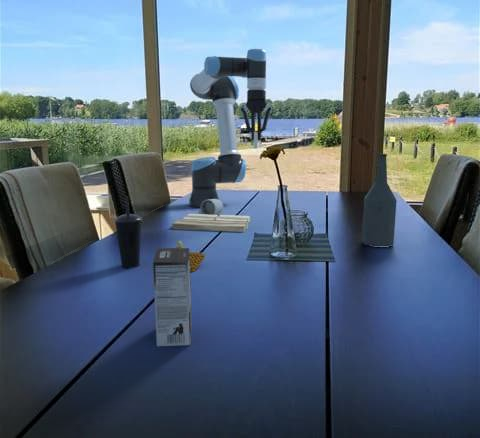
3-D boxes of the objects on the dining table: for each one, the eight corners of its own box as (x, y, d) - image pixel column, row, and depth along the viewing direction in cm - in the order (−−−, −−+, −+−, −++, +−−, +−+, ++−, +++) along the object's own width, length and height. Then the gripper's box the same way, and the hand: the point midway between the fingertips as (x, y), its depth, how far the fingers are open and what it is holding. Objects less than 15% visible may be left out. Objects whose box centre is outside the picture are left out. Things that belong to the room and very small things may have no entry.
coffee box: (159, 325, 91) (156, 247, 87) (192, 324, 91) (190, 246, 88) (155, 347, 82) (151, 261, 78) (191, 345, 82) (188, 260, 79)
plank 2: (220, 219, 188) (220, 214, 188) (249, 220, 186) (249, 215, 185) (215, 225, 180) (215, 220, 180) (246, 226, 178) (245, 221, 177)
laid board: (180, 223, 183) (179, 218, 182) (248, 226, 177) (248, 221, 177) (172, 228, 174) (172, 223, 173) (243, 231, 168) (243, 226, 168)
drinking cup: (149, 262, 131) (146, 194, 127) (135, 270, 124) (131, 198, 120) (126, 260, 134) (122, 193, 130) (111, 268, 127) (106, 197, 123)
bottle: (394, 249, 145) (401, 154, 139) (363, 247, 147) (368, 154, 141) (390, 241, 155) (397, 152, 148) (361, 239, 157) (366, 152, 150)
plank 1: (189, 218, 191) (189, 213, 190) (218, 219, 189) (217, 214, 188) (182, 223, 183) (182, 218, 182) (212, 224, 180) (212, 219, 180)
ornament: (209, 253, 123) (192, 231, 136) (172, 266, 120) (158, 241, 132) (213, 274, 126) (195, 250, 139) (177, 286, 123) (163, 260, 136)
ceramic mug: (224, 214, 201) (224, 197, 199) (215, 218, 194) (214, 200, 192) (204, 213, 206) (203, 196, 204) (194, 216, 198) (193, 199, 197)
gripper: (238, 89, 181) (239, 148, 186) (271, 88, 179) (270, 149, 183) (242, 90, 188) (242, 147, 193) (273, 90, 186) (272, 148, 191)
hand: (256, 148), depth 188 cm, fingers closed
